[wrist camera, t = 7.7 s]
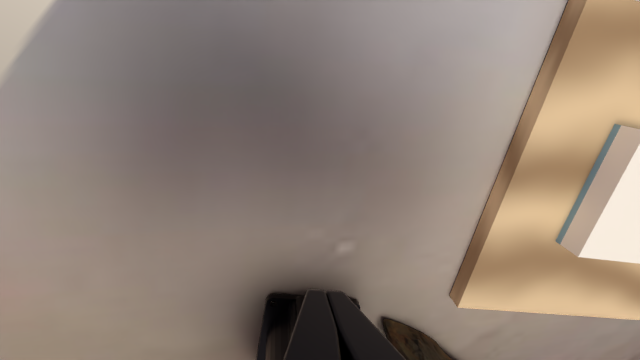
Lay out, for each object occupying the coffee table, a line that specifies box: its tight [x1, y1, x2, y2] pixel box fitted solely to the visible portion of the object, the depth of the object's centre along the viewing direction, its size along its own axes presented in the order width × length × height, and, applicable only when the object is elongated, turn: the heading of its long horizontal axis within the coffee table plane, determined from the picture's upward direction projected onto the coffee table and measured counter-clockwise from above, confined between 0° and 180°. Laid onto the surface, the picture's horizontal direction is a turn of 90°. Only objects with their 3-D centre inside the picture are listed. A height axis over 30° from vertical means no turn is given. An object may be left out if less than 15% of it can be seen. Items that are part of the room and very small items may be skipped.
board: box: [449, 0, 640, 320], centre depth 22 cm, size 20×16×1 cm
